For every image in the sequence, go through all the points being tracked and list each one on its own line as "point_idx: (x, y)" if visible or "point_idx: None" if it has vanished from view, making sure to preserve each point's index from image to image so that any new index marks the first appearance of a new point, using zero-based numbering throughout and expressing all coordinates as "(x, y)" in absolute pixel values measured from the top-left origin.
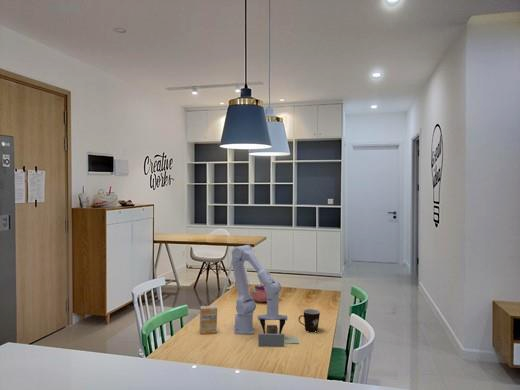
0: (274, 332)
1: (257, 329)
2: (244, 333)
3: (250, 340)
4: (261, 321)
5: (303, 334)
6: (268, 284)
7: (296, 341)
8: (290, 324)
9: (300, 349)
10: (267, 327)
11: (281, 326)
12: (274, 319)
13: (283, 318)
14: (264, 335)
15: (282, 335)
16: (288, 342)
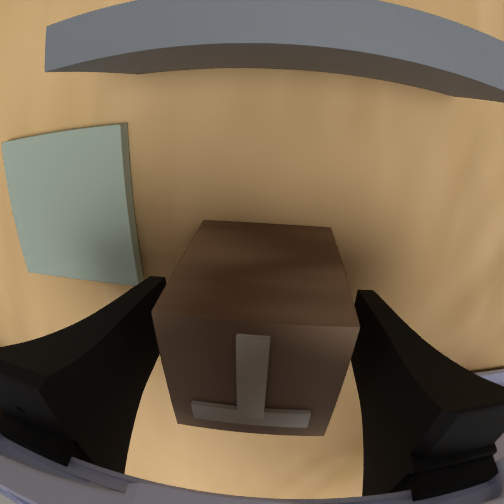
0: (225, 274)
1: (350, 438)
2: (476, 373)
3: (492, 244)
4: (479, 443)
5: (21, 333)
6: None
7: (18, 172)
8: (129, 457)
9: (13, 18)
10: (344, 367)
11: (79, 338)
12: (146, 494)
13: (18, 459)
14: (460, 28)
15: (82, 20)
16: (79, 133)
